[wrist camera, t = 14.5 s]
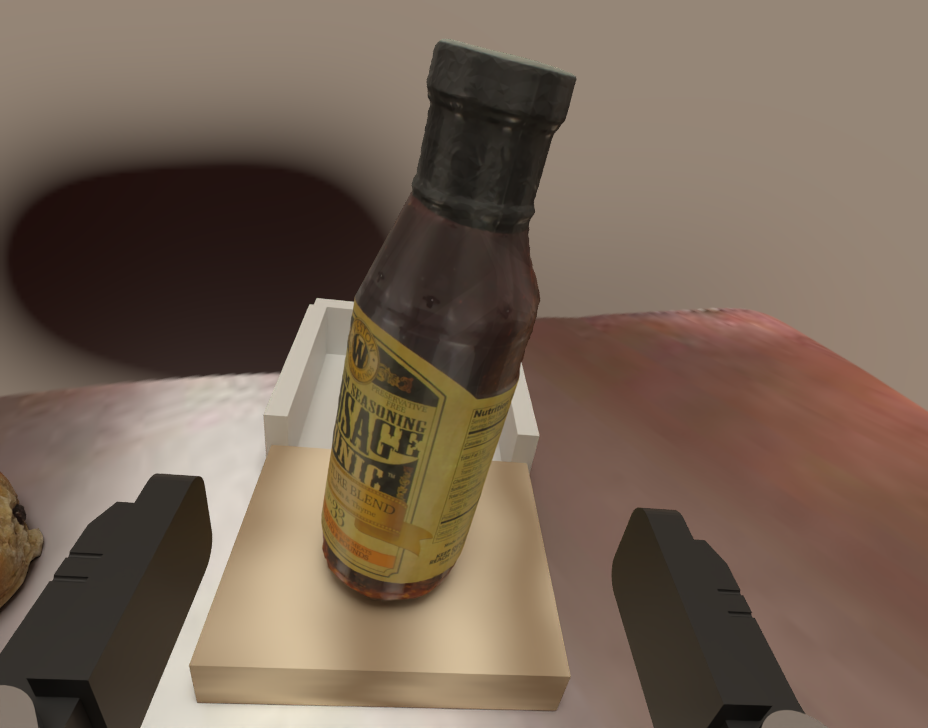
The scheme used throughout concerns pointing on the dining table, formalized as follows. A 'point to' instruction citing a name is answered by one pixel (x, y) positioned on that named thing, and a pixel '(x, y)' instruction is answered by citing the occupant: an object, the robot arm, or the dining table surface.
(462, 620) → the board
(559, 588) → the dining table surface
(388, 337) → the sauce bottle
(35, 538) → the bread roll
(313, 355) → the box
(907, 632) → the dining table surface
